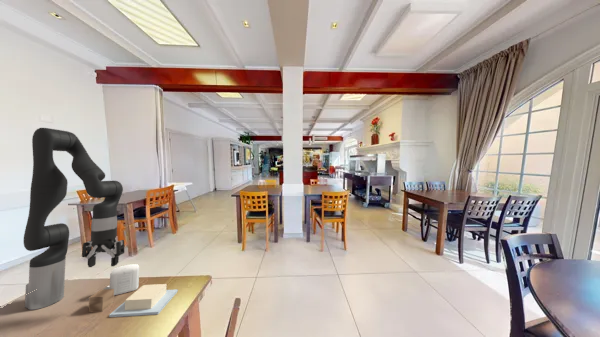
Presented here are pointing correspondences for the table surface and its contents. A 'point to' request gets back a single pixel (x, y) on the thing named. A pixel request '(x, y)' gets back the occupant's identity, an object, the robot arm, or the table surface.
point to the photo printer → (124, 278)
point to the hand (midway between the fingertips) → (103, 265)
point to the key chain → (104, 288)
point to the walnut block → (101, 300)
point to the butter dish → (145, 301)
